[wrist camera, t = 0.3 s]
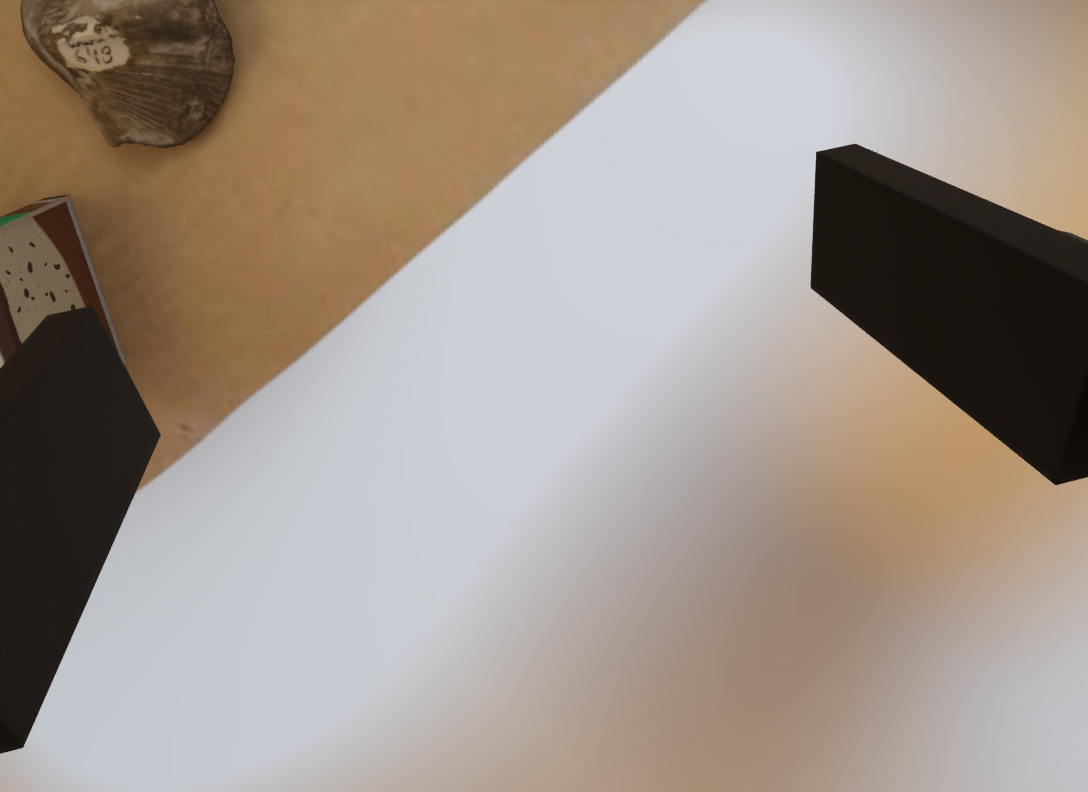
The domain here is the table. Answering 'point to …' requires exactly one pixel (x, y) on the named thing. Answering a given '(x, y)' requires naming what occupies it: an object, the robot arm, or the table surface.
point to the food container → (45, 272)
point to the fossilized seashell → (137, 63)
